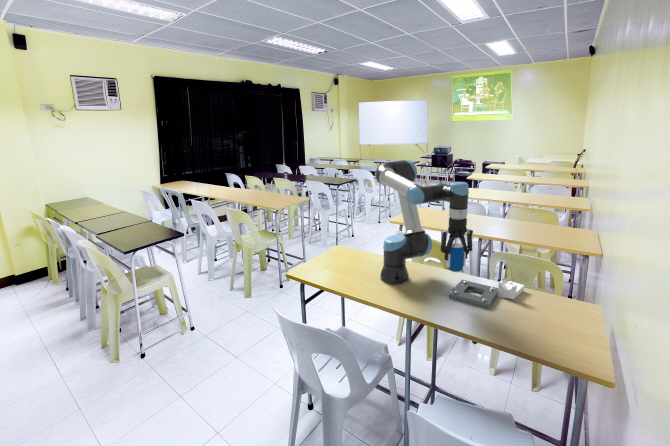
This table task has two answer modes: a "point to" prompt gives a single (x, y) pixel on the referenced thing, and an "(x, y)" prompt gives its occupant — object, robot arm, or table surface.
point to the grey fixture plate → (483, 301)
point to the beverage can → (456, 257)
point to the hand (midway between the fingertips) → (455, 265)
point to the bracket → (510, 289)
